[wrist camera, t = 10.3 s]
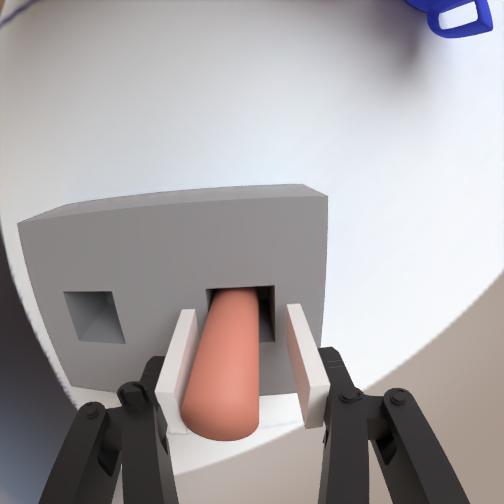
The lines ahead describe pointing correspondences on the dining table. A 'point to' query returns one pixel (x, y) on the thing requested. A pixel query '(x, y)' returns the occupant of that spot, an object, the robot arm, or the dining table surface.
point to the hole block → (174, 273)
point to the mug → (435, 3)
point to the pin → (226, 369)
